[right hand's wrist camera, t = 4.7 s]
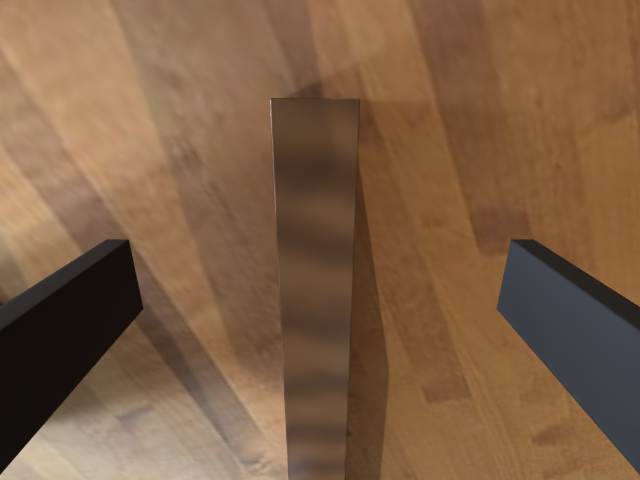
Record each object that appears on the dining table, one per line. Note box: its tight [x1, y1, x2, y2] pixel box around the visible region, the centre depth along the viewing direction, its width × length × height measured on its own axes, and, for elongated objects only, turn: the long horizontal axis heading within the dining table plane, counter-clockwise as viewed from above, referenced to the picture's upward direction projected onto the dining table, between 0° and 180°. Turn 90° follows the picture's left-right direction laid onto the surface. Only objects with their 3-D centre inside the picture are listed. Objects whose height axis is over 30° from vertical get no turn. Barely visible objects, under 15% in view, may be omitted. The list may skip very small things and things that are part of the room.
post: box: [270, 98, 360, 480], centre depth 35 cm, size 56×6×7 cm, turn 0°
